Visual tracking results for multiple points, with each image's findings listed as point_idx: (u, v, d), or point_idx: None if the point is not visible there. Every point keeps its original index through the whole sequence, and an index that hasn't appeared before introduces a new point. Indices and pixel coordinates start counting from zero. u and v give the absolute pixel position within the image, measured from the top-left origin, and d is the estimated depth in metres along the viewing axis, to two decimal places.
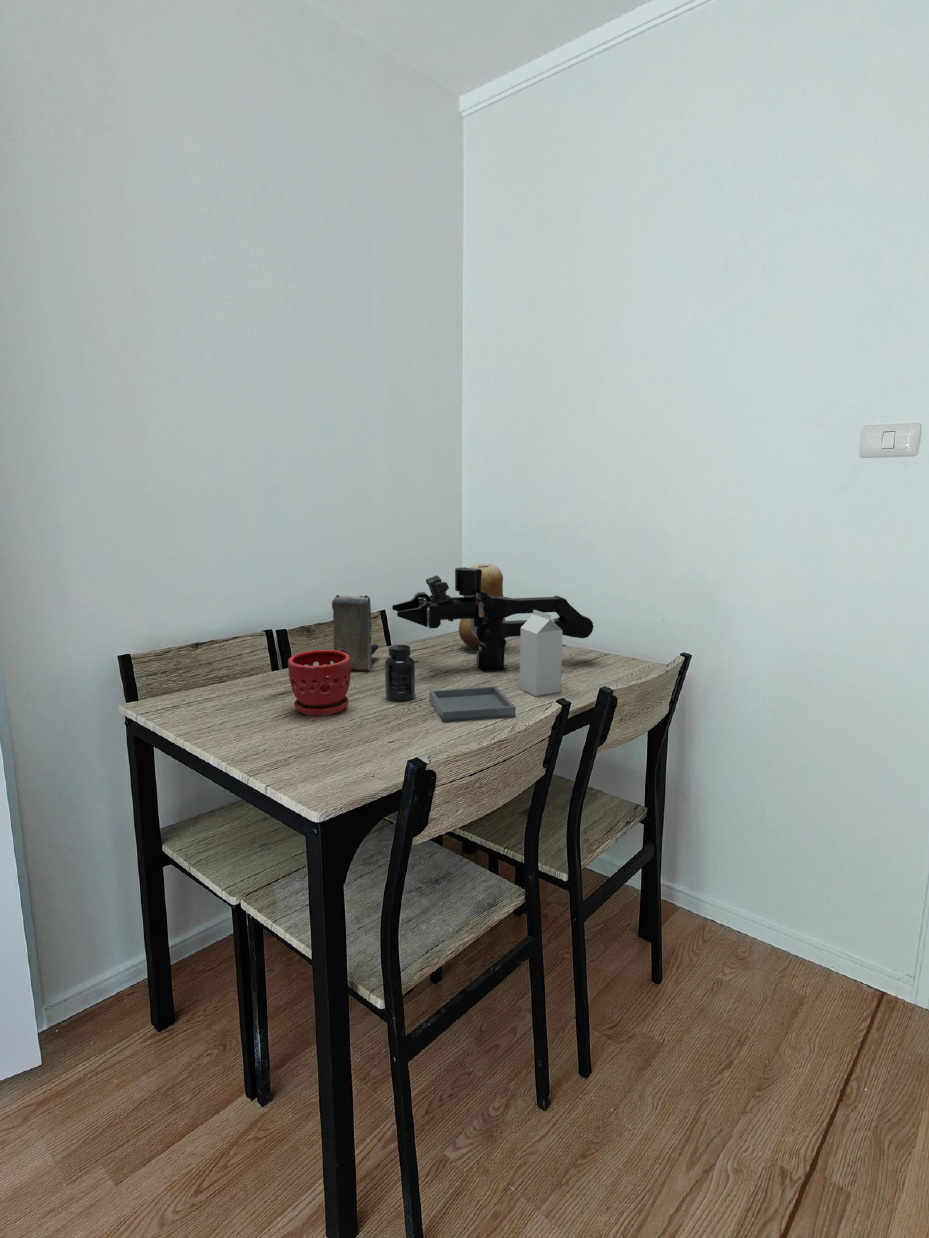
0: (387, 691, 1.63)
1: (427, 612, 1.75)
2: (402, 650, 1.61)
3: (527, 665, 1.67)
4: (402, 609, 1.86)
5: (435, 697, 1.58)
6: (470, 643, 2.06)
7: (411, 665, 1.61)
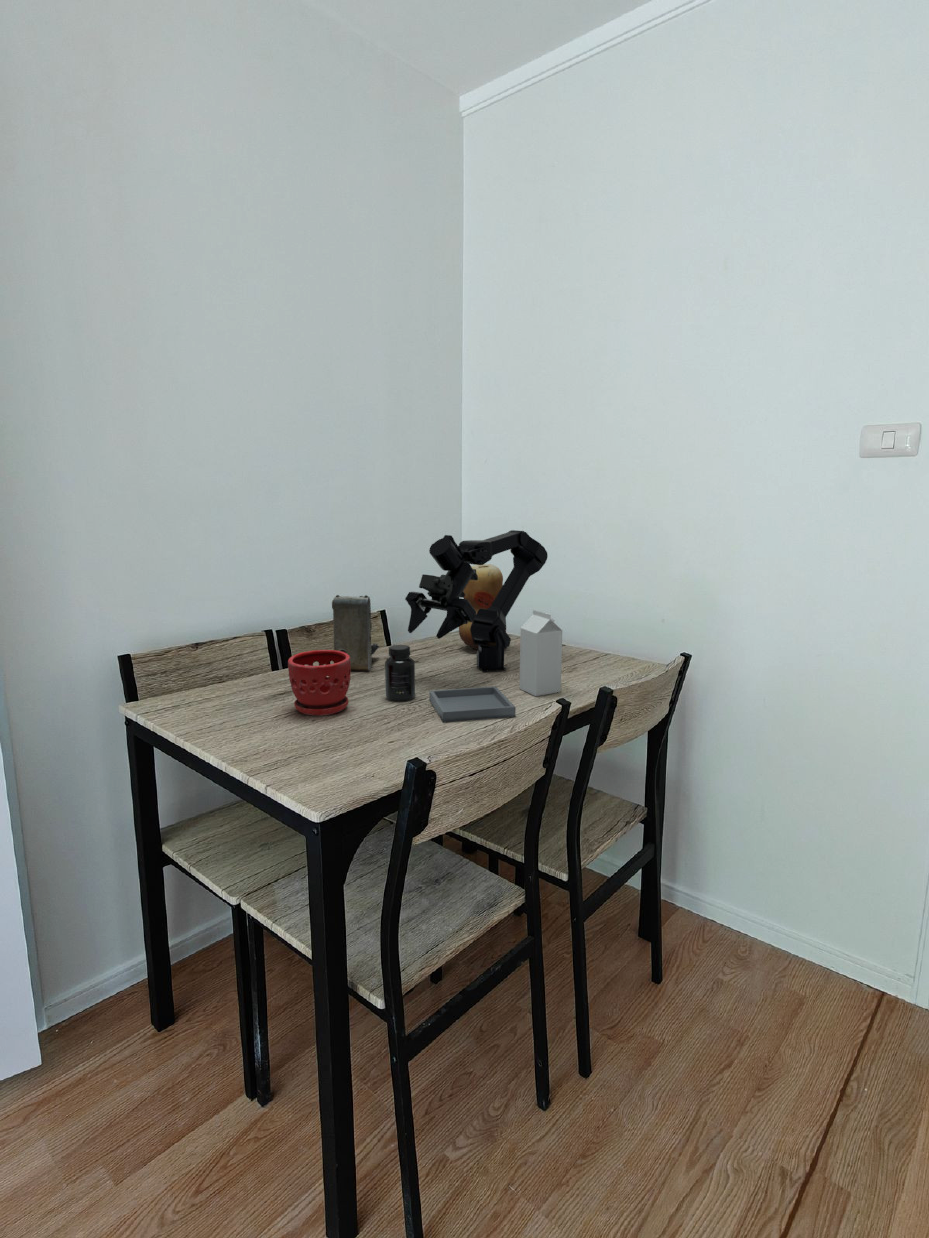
0: (387, 691, 1.63)
1: (461, 613, 1.65)
2: (402, 650, 1.61)
3: (527, 665, 1.67)
4: (415, 623, 1.73)
5: (435, 697, 1.58)
6: (470, 643, 2.06)
7: (411, 665, 1.61)
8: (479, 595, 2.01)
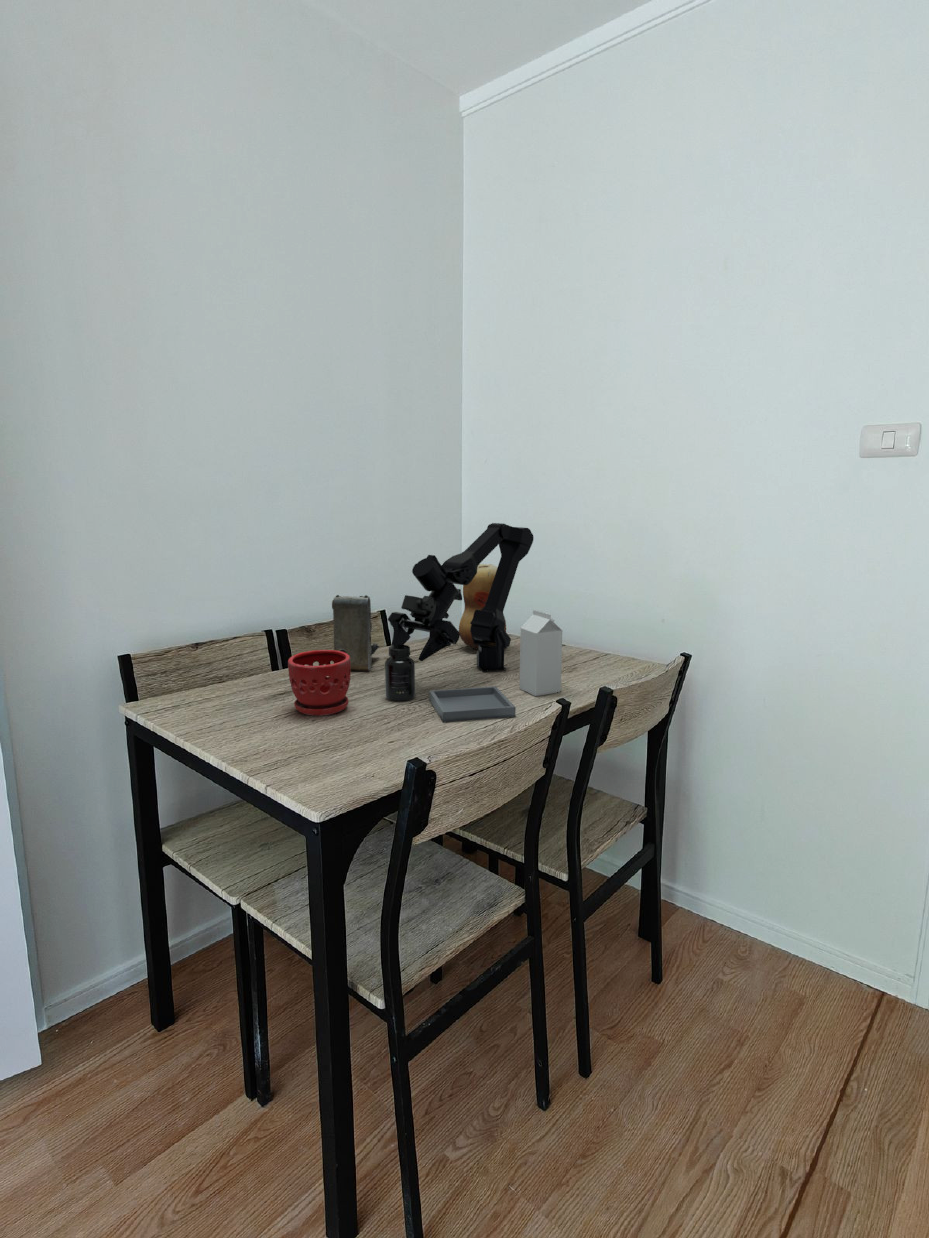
0: (387, 691, 1.63)
1: (444, 635, 1.62)
2: (402, 650, 1.61)
3: (527, 665, 1.67)
4: None
5: (435, 697, 1.58)
6: (470, 643, 2.06)
7: (411, 665, 1.61)
8: (479, 595, 2.01)
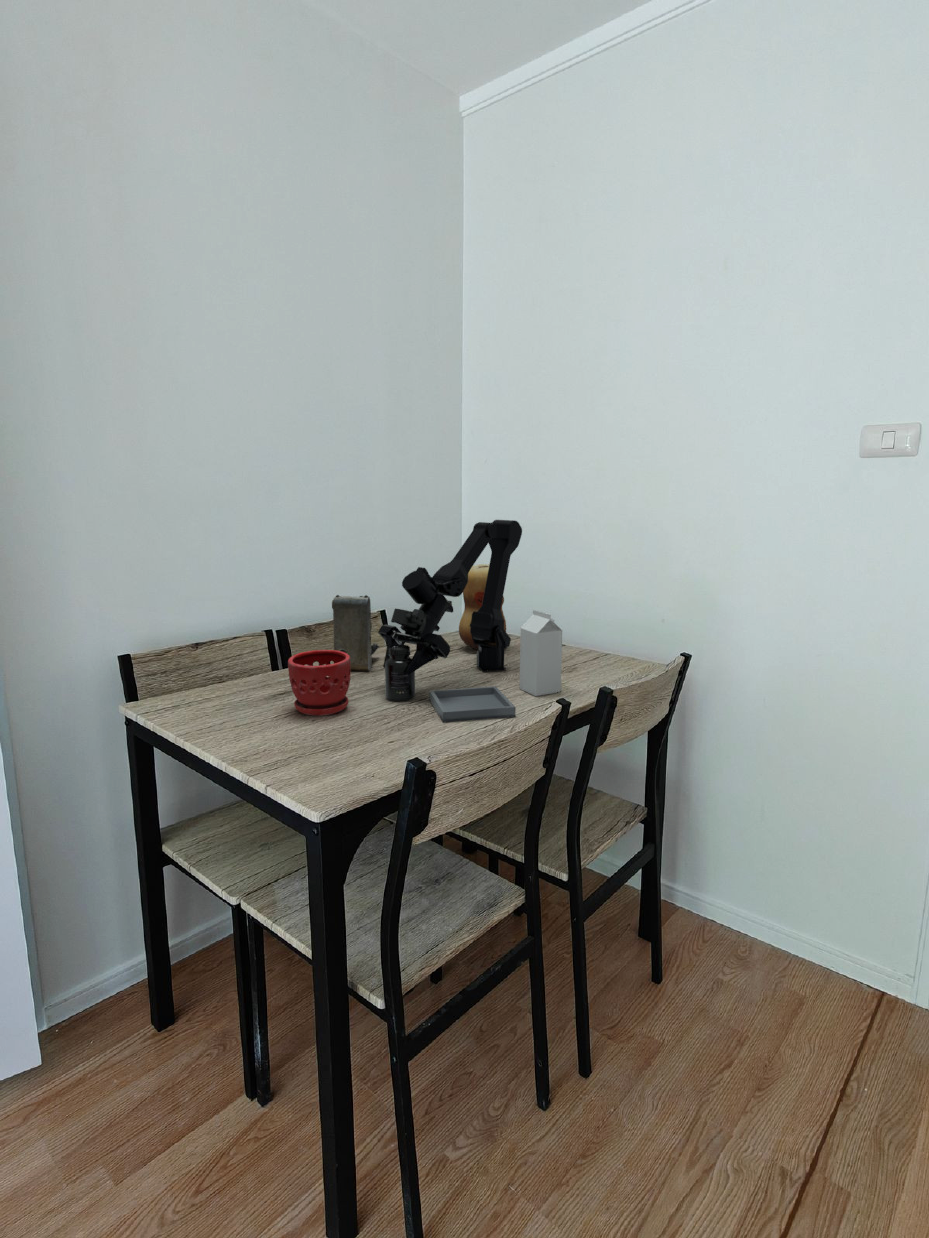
0: (387, 691, 1.63)
1: (431, 648, 1.60)
2: (402, 650, 1.61)
3: (527, 665, 1.67)
4: None
5: (435, 697, 1.58)
6: (470, 643, 2.06)
7: None
8: (479, 595, 2.01)
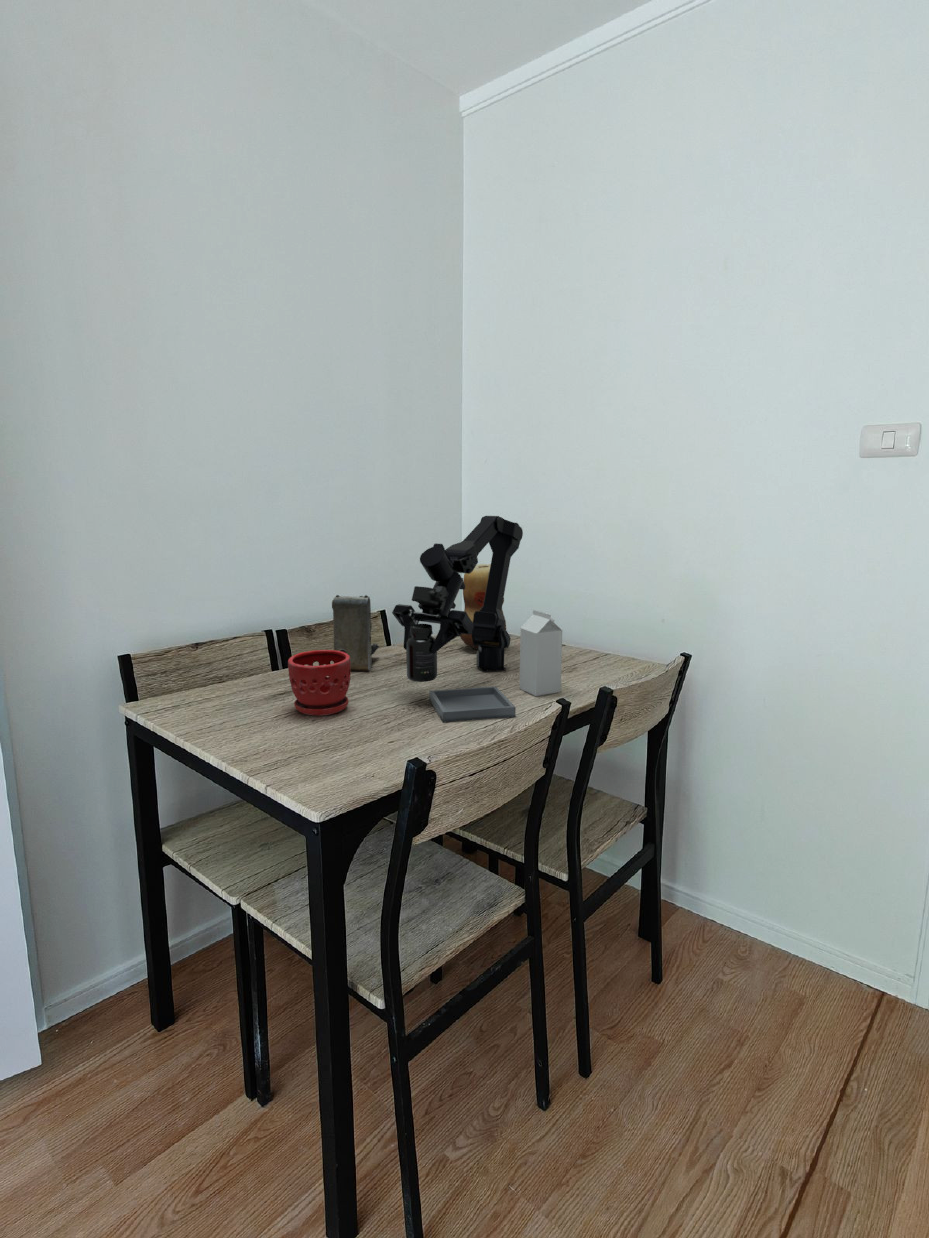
0: (410, 672, 1.58)
1: (455, 625, 1.57)
2: (426, 628, 1.56)
3: (527, 665, 1.67)
4: None
5: (435, 697, 1.58)
6: (470, 643, 2.06)
7: None
8: (479, 595, 2.01)
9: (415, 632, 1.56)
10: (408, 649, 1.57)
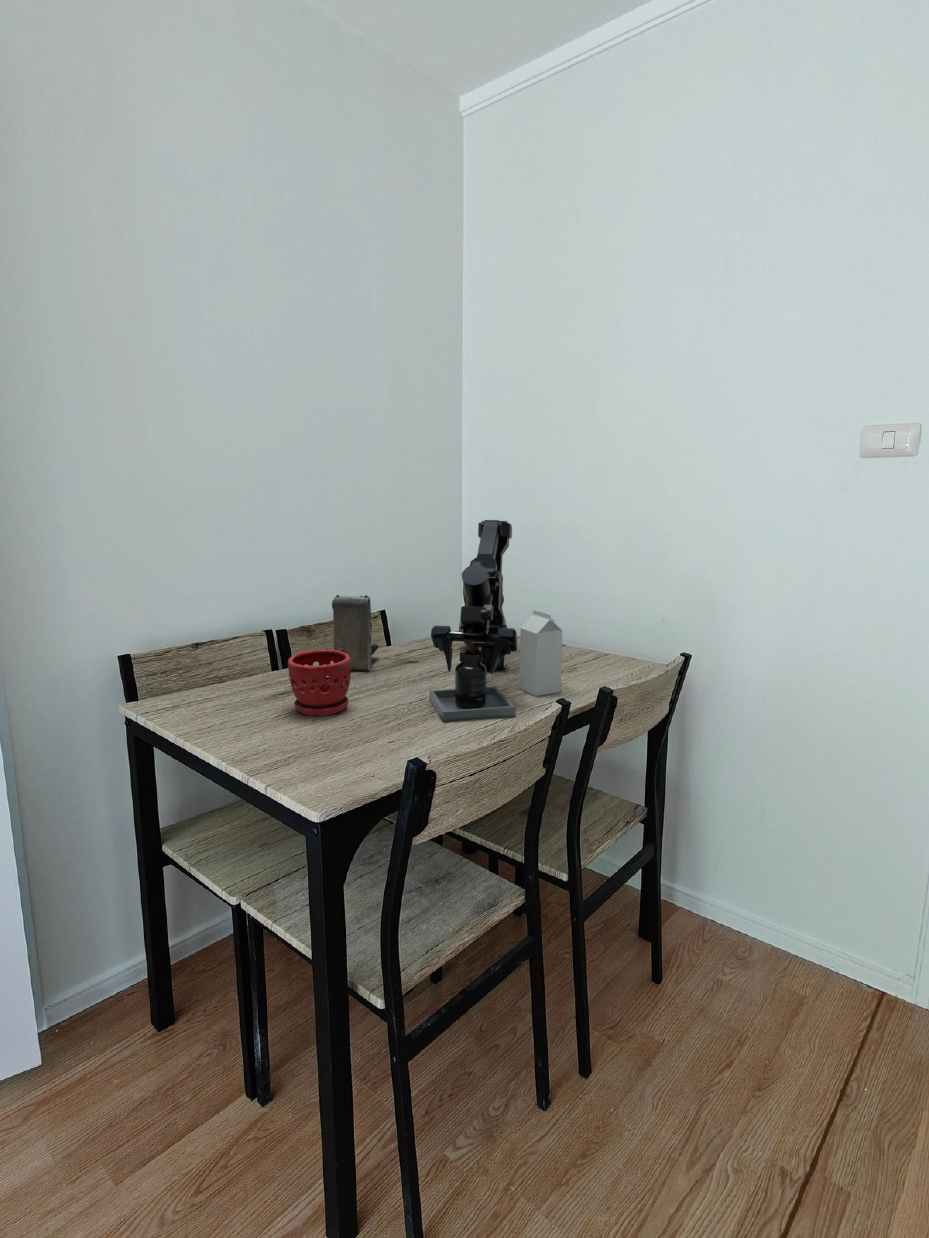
0: (464, 700, 1.54)
1: None
2: (479, 654, 1.54)
3: (527, 665, 1.67)
4: None
5: (435, 697, 1.58)
6: (470, 643, 2.06)
7: None
8: None
9: (469, 659, 1.53)
10: (461, 677, 1.53)
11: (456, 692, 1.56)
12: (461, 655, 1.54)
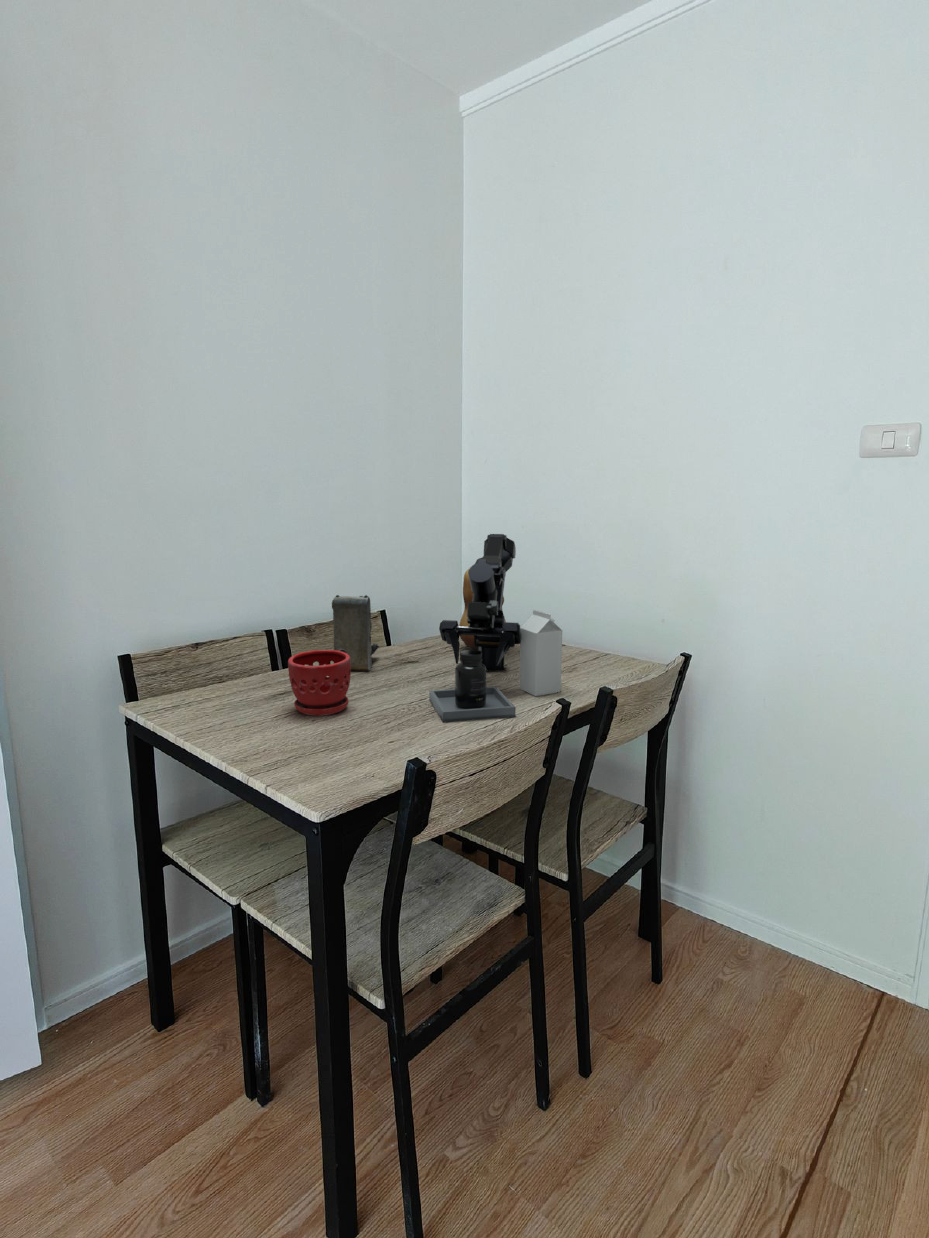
0: (464, 700, 1.54)
1: (513, 637, 1.65)
2: (479, 654, 1.54)
3: (527, 665, 1.67)
4: (457, 653, 1.66)
5: (435, 697, 1.58)
6: (470, 643, 2.06)
7: None
8: None
9: (469, 659, 1.53)
10: (461, 677, 1.53)
11: (456, 692, 1.56)
12: (461, 655, 1.54)
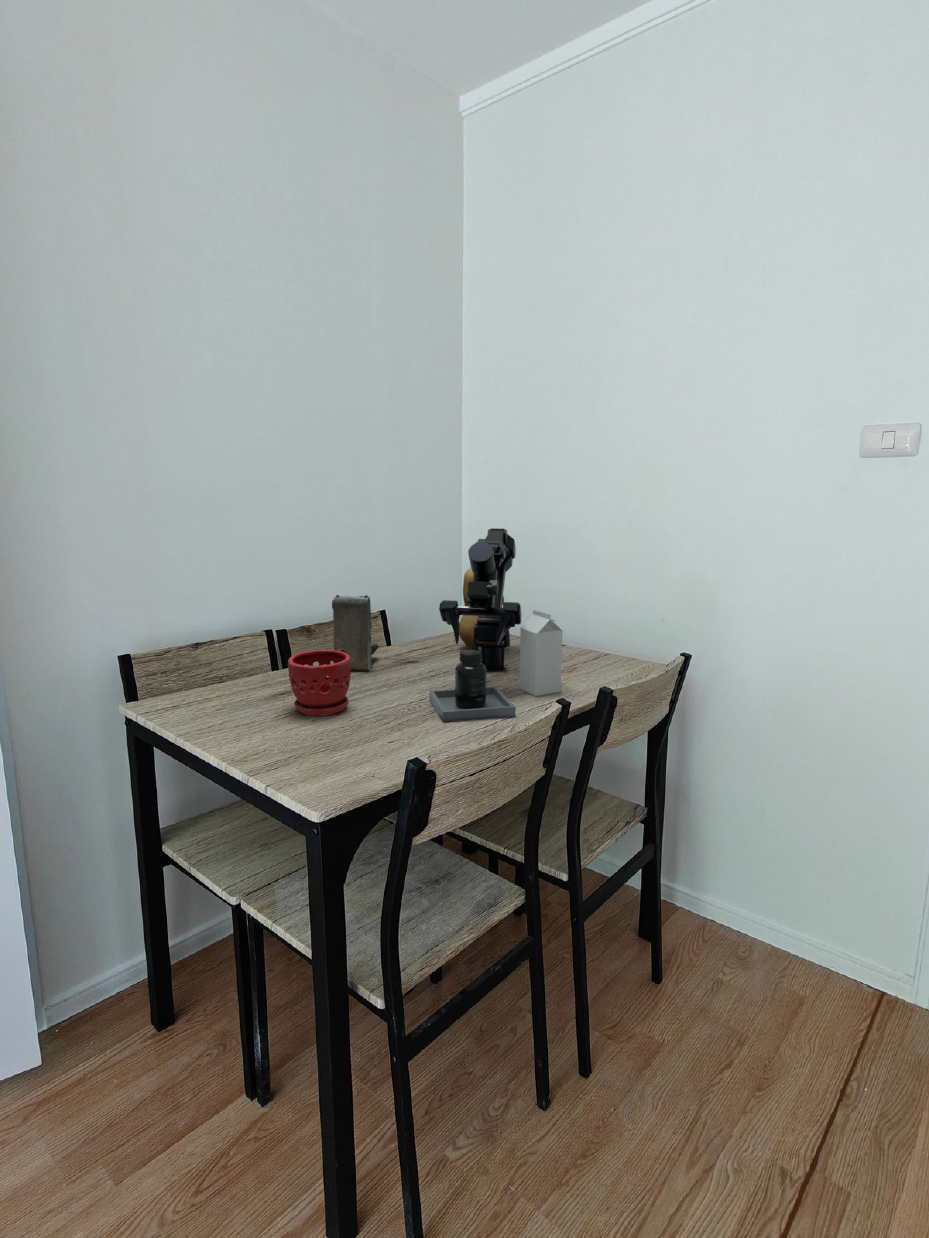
0: (464, 700, 1.54)
1: (513, 617, 1.64)
2: (479, 654, 1.54)
3: (527, 665, 1.67)
4: (457, 633, 1.65)
5: (435, 697, 1.58)
6: (470, 643, 2.06)
7: None
8: None
9: (469, 659, 1.53)
10: (461, 677, 1.53)
11: (456, 692, 1.56)
12: (461, 655, 1.54)
